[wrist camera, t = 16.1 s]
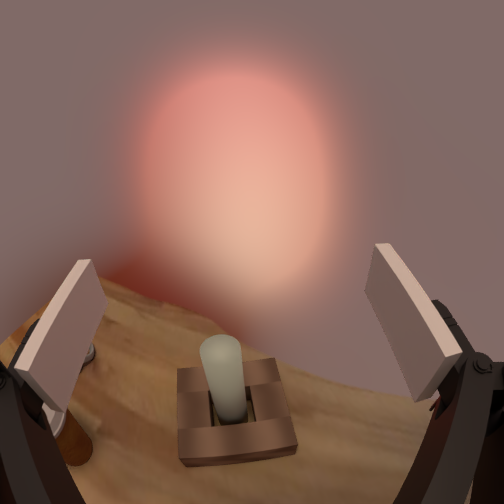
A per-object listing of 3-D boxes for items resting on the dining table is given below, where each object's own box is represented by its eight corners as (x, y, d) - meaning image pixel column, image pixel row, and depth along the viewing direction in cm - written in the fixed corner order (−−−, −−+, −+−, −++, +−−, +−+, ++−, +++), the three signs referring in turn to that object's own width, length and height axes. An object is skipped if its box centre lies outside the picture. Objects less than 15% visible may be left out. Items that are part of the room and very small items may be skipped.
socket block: (274, 372, 43) (274, 357, 41) (294, 454, 31) (297, 444, 29) (183, 383, 41) (177, 368, 39) (186, 467, 30) (178, 458, 27)
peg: (245, 405, 38) (238, 332, 29) (250, 429, 35) (243, 363, 26) (217, 408, 38) (199, 336, 29) (220, 432, 34) (200, 367, 26)
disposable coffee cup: (78, 411, 35) (39, 364, 29) (114, 450, 30) (72, 410, 24) (40, 443, 28) (-7, 402, 22) (73, 487, 24) (20, 455, 17)
